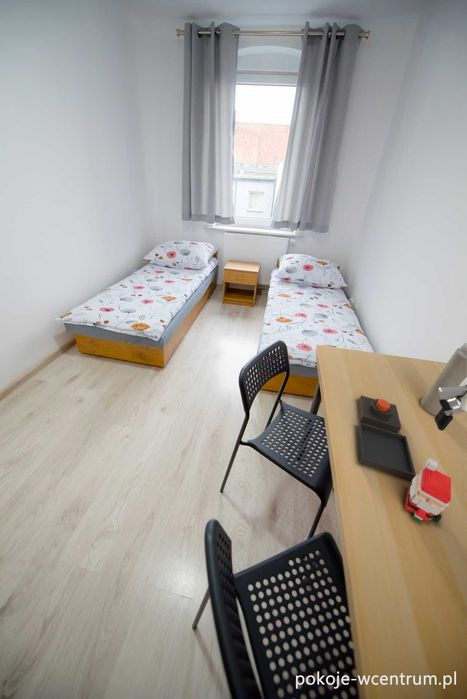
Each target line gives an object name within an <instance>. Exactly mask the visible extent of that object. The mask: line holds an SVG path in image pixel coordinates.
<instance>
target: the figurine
mask: <svg viewBox="0 0 467 699" xmlns="http://www.w3.org/2000/svg"><path fill="white" fill-rule="evenodd" d="M438 464H439V463H438V461H436V460H434V459H432V458H429V459H428V460H426V462H425V467H424V468H423V469H421V470H420V471H419V474H418V473H417V474H416V476H415V477H414V478H413V480H412V481H411V484H409V487H408V488H407V490H406V498H405V503H404V508H405V510H407V511H409V512H411V513H412V514H413V516H412V518H413V519H415V520H416V521H418V522H421V521H423V520H424V521H426V522H429V520H430V521H433V522H434V523H438V522H439V521H440V520H442V514H441V513H442V511H445V510H446V508H447V507H449V503H450V502H451V499H452V478H451V476H448V475H446V474H444V473H442V472H441V471H439V470H437V468H438V467H439V466H438Z"/></svg>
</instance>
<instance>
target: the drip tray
mask: <svg viewBox="0 0 467 699" xmlns="http://www.w3.org/2000/svg"><path fill="white" fill-rule="evenodd" d="M356 433H357V447H358V450H357V451H358V462H359V464H360V465H362V466H363V465H364V466H367V467H368V468H372V469H376V470H379V471H381V472H385V473H388V474H391V475H393V476H395V477H396V476H397V477H399V478H403V479H405V480H409V481H411V482H412V480H413V478H414V477H415V476H416V475H417V474H416V470H415V467H414V466H415V465H414V463H413V458H412V455H411V454H412V453H411V450H410V445H409V442H408V438H407V436H406V435H403V434H400V433H398V434H397V433H394V432H390V431H387V430H384V429H380V428H377V427H374V426H371V425H367V424H364V423H361V422H358V424H357V426H356Z"/></svg>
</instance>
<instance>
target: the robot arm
mask: <svg viewBox="0 0 467 699" xmlns="http://www.w3.org/2000/svg"><path fill="white" fill-rule="evenodd" d="M449 396H454V397H455V398H454V399H450V400H447V398H448V397H449ZM438 400H439V402H440V405H441V406H442V409H441V410H440V411H439V412H438V414H437V415H434V422H435V424H436V426H437V429H438V431H445V429H446V428H447V427H448V425H449V424H450V423H451V422H452V421H453V420H454V415H457V414H460V413H466V414H467V378H466V379H465V380H464V381H463V382H462V383H461V384H460V385H459V386H456V387H440V388H438ZM451 406H453V407H452V408H451Z"/></svg>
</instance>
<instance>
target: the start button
mask: <svg viewBox="0 0 467 699" xmlns="http://www.w3.org/2000/svg"><path fill="white" fill-rule="evenodd" d="M389 403H390V402H389V401H387V400H386V399H380V400H378V402H377V404H376V407H377V408H378V409H379V410H381V411H384V412H387V411H388V410H389V408H390V404H391V403H390V404H389Z"/></svg>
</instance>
